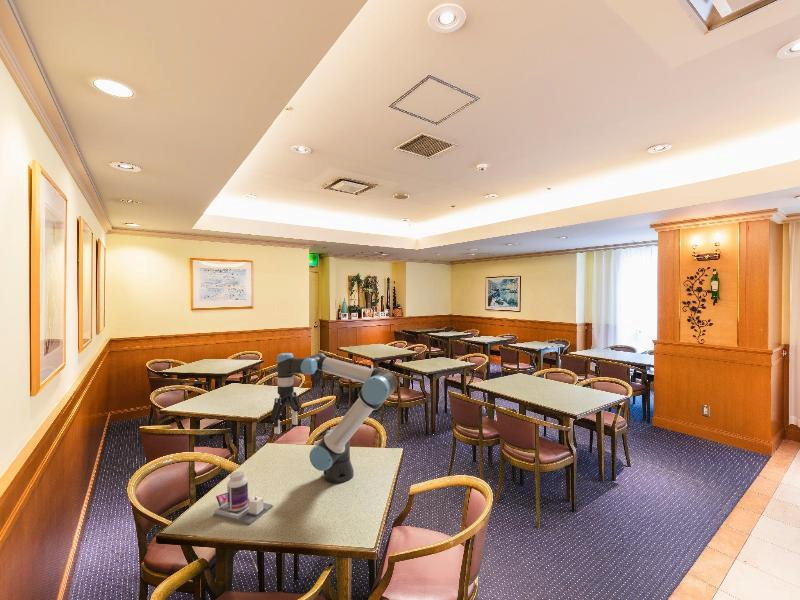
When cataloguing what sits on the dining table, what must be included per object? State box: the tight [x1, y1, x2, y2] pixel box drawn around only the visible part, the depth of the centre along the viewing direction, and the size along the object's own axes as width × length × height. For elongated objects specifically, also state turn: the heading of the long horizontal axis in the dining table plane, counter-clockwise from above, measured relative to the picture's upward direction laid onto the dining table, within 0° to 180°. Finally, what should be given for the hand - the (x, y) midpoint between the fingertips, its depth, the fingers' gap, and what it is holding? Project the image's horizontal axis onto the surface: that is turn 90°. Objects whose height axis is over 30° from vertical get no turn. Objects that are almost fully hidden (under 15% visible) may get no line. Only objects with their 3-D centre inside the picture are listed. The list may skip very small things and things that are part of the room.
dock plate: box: [212, 495, 274, 526], centre depth 163 cm, size 19×14×7 cm
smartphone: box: [215, 492, 228, 507], centre depth 173 cm, size 8×1×15 cm
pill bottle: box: [226, 471, 249, 512], centre depth 165 cm, size 8×8×14 cm
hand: (286, 428), depth 188 cm, fingers open, 13 cm apart
